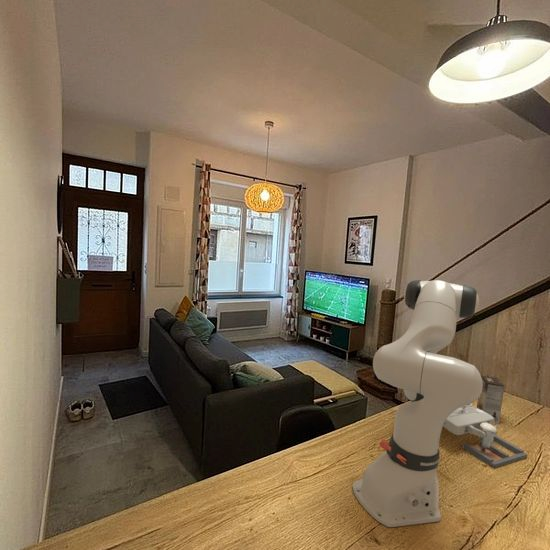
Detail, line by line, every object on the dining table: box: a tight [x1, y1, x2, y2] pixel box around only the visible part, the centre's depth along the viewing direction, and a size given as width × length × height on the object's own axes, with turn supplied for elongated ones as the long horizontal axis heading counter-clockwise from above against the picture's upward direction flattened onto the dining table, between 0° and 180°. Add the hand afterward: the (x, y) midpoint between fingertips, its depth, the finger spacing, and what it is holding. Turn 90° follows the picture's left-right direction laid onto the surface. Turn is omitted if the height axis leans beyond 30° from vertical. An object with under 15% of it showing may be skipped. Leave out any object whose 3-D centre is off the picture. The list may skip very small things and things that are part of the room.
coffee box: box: [476, 374, 506, 424], centre depth 132 cm, size 9×6×16 cm
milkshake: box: [478, 423, 500, 453], centre depth 105 cm, size 4×5×10 cm
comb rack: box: [462, 435, 528, 469], centre depth 106 cm, size 18×10×2 cm, turn 113°
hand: (490, 434), depth 104 cm, fingers closed on milkshake, 4 cm apart
